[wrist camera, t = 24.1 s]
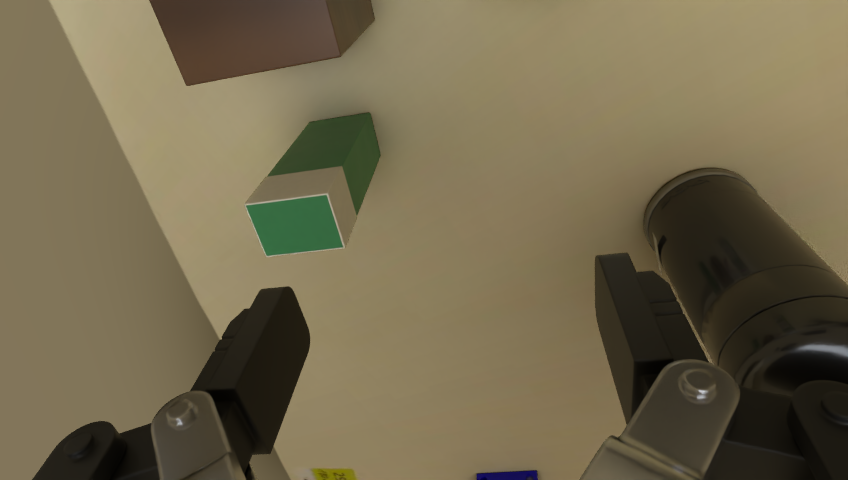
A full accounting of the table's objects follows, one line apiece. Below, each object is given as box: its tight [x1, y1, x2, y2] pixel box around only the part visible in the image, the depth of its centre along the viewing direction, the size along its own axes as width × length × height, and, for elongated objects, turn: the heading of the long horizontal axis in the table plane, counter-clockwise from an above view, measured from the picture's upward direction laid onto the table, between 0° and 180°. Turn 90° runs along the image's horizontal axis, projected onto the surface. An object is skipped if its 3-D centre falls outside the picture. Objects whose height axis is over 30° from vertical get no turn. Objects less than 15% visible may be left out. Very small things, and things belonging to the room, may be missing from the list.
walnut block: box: [149, 0, 375, 86], centre depth 34 cm, size 6×10×12 cm, turn 101°
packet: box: [244, 113, 381, 257], centre depth 39 cm, size 13×6×13 cm
